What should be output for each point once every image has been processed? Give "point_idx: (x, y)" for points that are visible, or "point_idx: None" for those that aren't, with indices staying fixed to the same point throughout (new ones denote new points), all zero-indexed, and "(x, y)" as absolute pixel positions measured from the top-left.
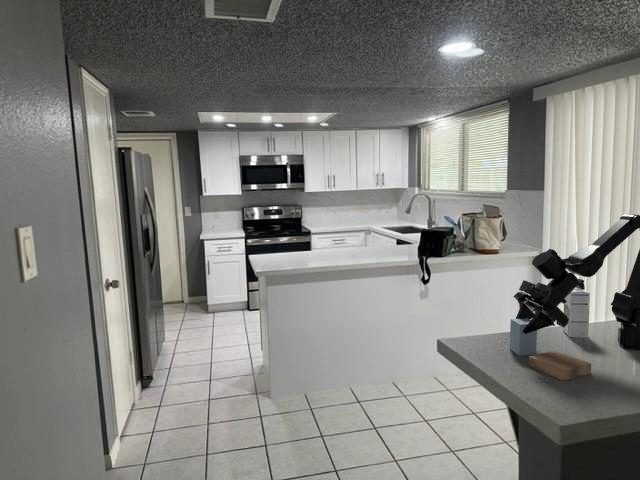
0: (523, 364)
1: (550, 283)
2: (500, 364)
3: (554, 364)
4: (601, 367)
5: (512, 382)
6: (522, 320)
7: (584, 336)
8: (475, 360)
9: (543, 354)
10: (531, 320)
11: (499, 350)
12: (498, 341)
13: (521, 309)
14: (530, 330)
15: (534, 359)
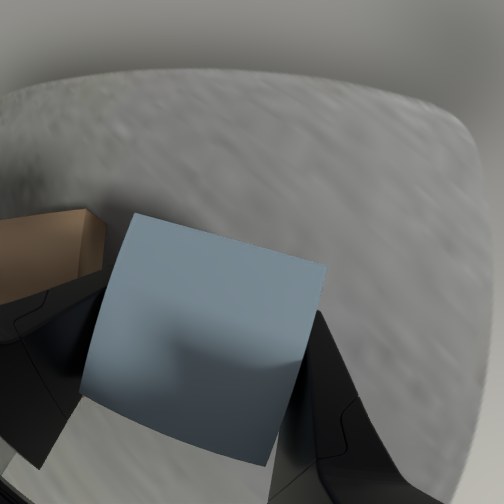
0: (124, 215)
1: None
2: (172, 135)
3: (6, 240)
4: None
5: (76, 99)
6: (221, 352)
7: None
8: (247, 86)
9: None
10: (53, 307)
11: (302, 239)
12: (407, 331)
13: (349, 473)
14: None
15: (63, 212)
